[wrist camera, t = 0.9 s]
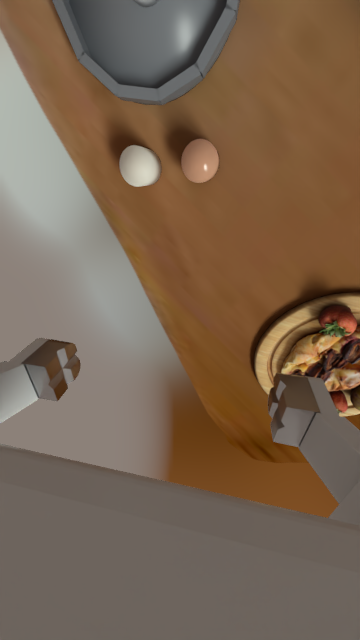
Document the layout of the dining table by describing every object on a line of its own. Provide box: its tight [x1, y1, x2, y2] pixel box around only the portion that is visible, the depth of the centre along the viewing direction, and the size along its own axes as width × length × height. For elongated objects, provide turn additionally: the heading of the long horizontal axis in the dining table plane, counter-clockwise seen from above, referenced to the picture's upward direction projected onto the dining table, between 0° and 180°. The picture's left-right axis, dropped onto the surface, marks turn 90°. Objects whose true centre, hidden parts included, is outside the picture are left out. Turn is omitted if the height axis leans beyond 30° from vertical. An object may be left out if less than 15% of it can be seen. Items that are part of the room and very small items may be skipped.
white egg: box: [119, 145, 162, 187], centre depth 36 cm, size 5×5×5 cm
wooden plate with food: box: [254, 292, 360, 416], centre depth 47 cm, size 32×32×8 cm
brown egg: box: [181, 139, 220, 183], centre depth 34 cm, size 5×5×5 cm
